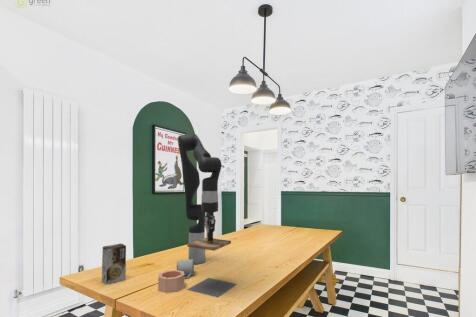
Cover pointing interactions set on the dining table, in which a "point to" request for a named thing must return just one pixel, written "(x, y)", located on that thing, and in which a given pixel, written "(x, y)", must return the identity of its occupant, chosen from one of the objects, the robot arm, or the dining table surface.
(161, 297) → the dining table surface
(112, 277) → the coffee box
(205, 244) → the lid
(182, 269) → the ceramic mug
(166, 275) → the bowl
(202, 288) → the mat
